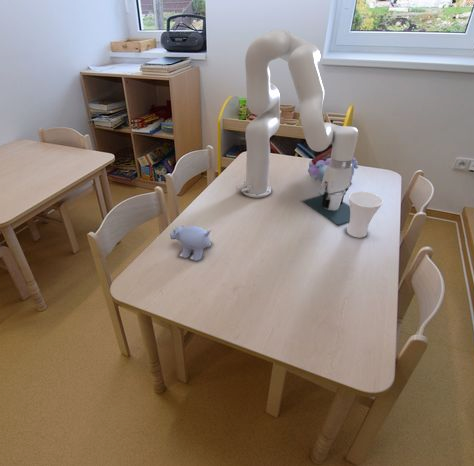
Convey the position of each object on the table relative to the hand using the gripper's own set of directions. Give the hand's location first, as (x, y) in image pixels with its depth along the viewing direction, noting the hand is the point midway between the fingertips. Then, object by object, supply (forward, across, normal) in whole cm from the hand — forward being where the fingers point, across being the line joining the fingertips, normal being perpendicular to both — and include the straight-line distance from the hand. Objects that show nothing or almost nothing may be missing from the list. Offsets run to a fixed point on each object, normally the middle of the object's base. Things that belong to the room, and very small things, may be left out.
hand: (331, 204), depth 129 cm
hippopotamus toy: (+2, +60, -1) cm, 60 cm away
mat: (+1, 0, +1) cm, 2 cm away
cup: (+2, +4, +17) cm, 18 cm away
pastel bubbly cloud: (+2, -16, -20) cm, 26 cm away
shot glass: (+1, 0, 0) cm, 1 cm away
